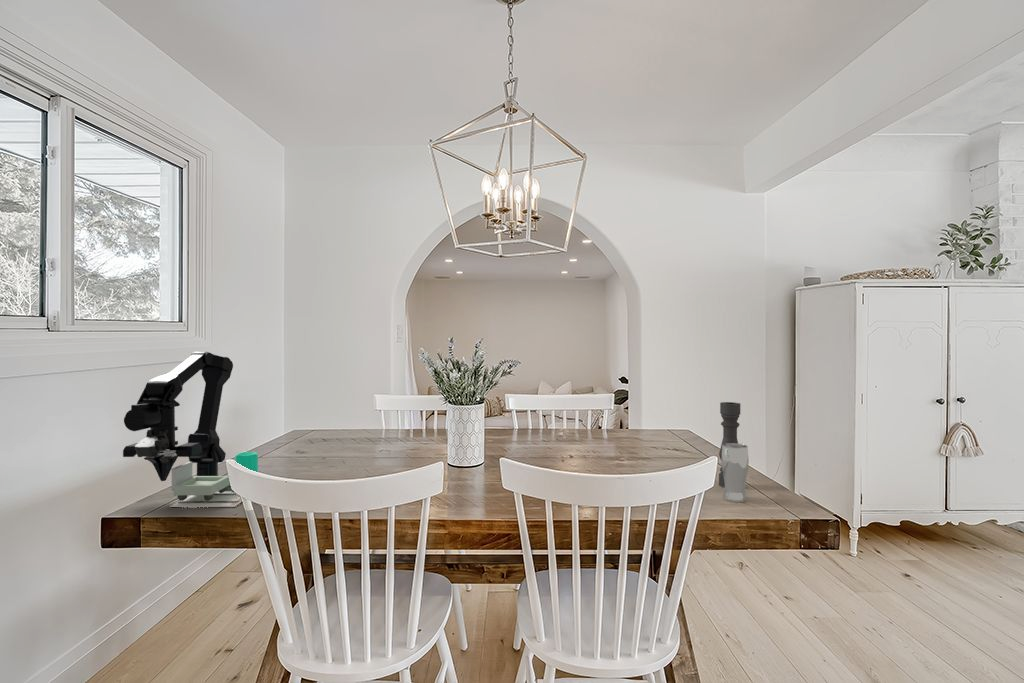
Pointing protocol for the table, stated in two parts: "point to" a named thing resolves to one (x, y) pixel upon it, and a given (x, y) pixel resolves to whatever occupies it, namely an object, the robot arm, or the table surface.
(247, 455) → the candle
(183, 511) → the table surface
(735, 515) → the table surface
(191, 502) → the track
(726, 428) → the candle holder
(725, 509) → the table surface
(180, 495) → the cart
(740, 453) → the beer glass
